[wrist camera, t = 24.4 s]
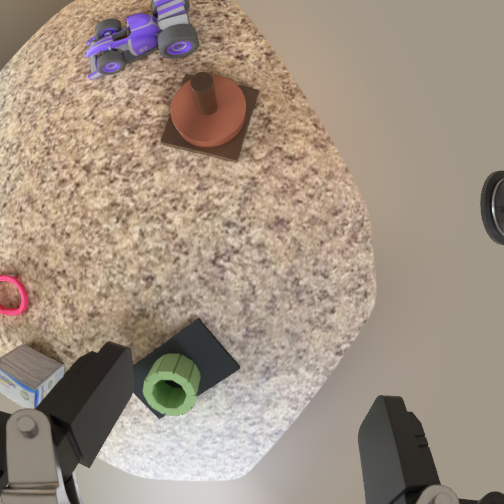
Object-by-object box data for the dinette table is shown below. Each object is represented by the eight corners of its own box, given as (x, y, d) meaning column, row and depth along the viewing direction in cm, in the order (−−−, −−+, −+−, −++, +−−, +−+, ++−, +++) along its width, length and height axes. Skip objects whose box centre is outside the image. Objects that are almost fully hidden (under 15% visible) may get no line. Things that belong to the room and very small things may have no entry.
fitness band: (26, 273, 35) (20, 275, 33) (32, 314, 35) (26, 317, 34) (-9, 274, 35) (-16, 276, 33) (-3, 312, 35) (-9, 314, 34)
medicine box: (23, 365, 36) (-8, 388, 27) (24, 341, 36) (-10, 362, 27) (63, 387, 37) (35, 416, 28) (65, 363, 36) (35, 390, 28)
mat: (198, 318, 36) (198, 319, 36) (240, 366, 37) (240, 368, 37) (120, 374, 37) (118, 376, 36) (160, 416, 38) (159, 419, 37)
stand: (258, 95, 34) (266, 52, 24) (236, 163, 35) (236, 140, 25) (187, 78, 34) (172, 34, 23) (163, 145, 34) (136, 117, 24)
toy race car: (88, 37, 32) (70, 15, 26) (188, 4, 32) (183, -25, 26) (91, 89, 33) (70, 70, 27) (201, 53, 33) (195, 25, 27)
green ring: (204, 360, 36) (200, 379, 31) (194, 400, 37) (189, 421, 32) (157, 346, 36) (147, 363, 31) (150, 387, 36) (140, 407, 32)
